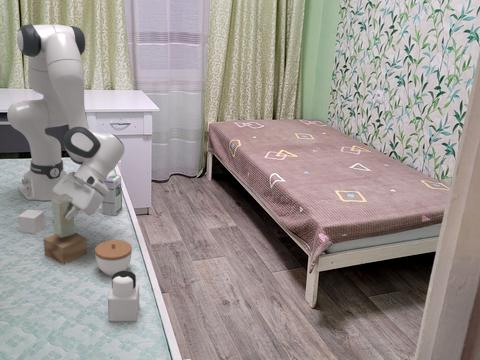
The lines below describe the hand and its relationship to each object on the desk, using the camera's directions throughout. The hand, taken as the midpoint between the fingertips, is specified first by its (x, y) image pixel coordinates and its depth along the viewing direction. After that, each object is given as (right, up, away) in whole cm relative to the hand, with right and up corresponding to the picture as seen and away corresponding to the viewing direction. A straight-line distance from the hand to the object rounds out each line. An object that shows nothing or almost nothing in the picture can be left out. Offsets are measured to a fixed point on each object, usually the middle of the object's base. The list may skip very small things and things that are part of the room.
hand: (61, 215), depth 152 cm
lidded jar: (+17, -17, -2) cm, 24 cm away
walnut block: (-1, -13, +5) cm, 14 cm away
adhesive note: (-17, -6, +20) cm, 27 cm away
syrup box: (+6, -1, +37) cm, 37 cm away
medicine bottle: (+24, -25, -21) cm, 41 cm away
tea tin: (0, -6, +3) cm, 6 cm away
